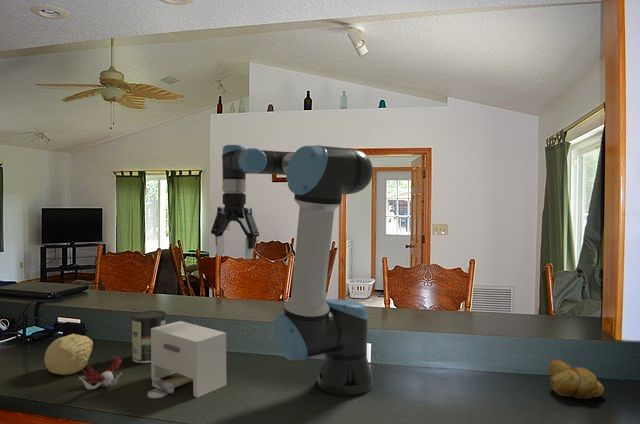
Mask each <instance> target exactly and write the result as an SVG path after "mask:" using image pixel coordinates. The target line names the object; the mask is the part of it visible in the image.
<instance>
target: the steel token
mask: <svg viewBox="0 0 640 424" xmlns="http://www.w3.org/2000/svg"><path fill="white" fill-rule="evenodd" d="M168 394H169V393H168V392H165V391H163V390H161V389H158V388H156V387H155V388H153V389H151V390H148V391H147V398H149V399H160V398H164V397H166V396H167V395H168Z"/></svg>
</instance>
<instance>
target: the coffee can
mask: <svg viewBox="0 0 640 424" xmlns="http://www.w3.org/2000/svg"><path fill="white" fill-rule="evenodd" d="M166 316H167V313H166V312H165V311H162V310H145V311H144V310H143V311H139V312H136V313H133V314H132V315H131V319H132V320H131V322H132V323H131V331H132V333H131V334H132V335H131V336H132V345H131V346H132V357H131V358H132V362H134V363H138V364H151V328H155V327H159V326H163V325H167V324H166V323H167V322H166V321H167V320H166V318H167V317H166Z"/></svg>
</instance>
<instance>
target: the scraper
mask: <svg viewBox="0 0 640 424" xmlns="http://www.w3.org/2000/svg"><path fill="white" fill-rule="evenodd" d="M151 382H152V383H151V386H152V387H154V388H155V389H156V388H158V389H161V390H163V391H165V392H168V394H173V393H175V388H177V387H180V386H183V385H186V384H189V383H192V382H193V379H192V378H189V377H186V376H184V375H181V374H179V375H178V376H174V377H171V378H169V379H165V380H163V378H160V379H159V378H157V377H156V378H153V379H151Z"/></svg>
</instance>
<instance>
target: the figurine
mask: <svg viewBox="0 0 640 424" xmlns="http://www.w3.org/2000/svg"><path fill="white" fill-rule="evenodd" d="M112 358H113V360H112V361H111V365H110V367H109V368H108V369H106V370H105V371H104V372H102V373H101V374H99V373H98V370H94V369H93V368H92V366H91V365H88V367H86V369H87V371H86V370H85V369H82V370H81V371H82V372H83V374H84V375H80V376H78V381H79V382H80V381H82V383H83V385H84V386H85V388H86V389H87V390H95V389H97V388H99V387H100V386H102V385H105V386H106V387H107V389H108V390H110V388H109V387H108V386H109V385H110V386H113V385H116V383H118V381H117V380H118V379H119V378H121V376H122V374H123V373H122V372H120V373H119V374H116V376H114V375H113V371H114V370H118V369H119V368H120V366H121V364H122V362H123V361H122V358H121V357H120V356H118V355H112ZM90 383H91V384H90ZM93 383H95V385H92V384H93Z"/></svg>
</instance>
